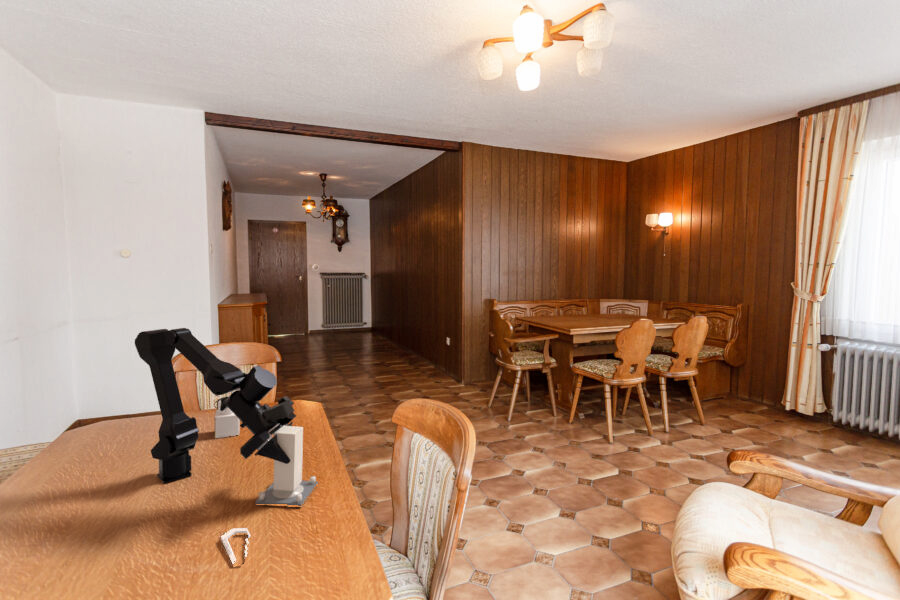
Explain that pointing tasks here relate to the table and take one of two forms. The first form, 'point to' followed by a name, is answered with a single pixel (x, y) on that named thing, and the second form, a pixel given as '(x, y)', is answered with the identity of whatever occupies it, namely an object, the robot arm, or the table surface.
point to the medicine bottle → (225, 422)
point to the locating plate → (288, 494)
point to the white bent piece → (227, 545)
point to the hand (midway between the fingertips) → (293, 457)
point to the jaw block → (293, 447)
